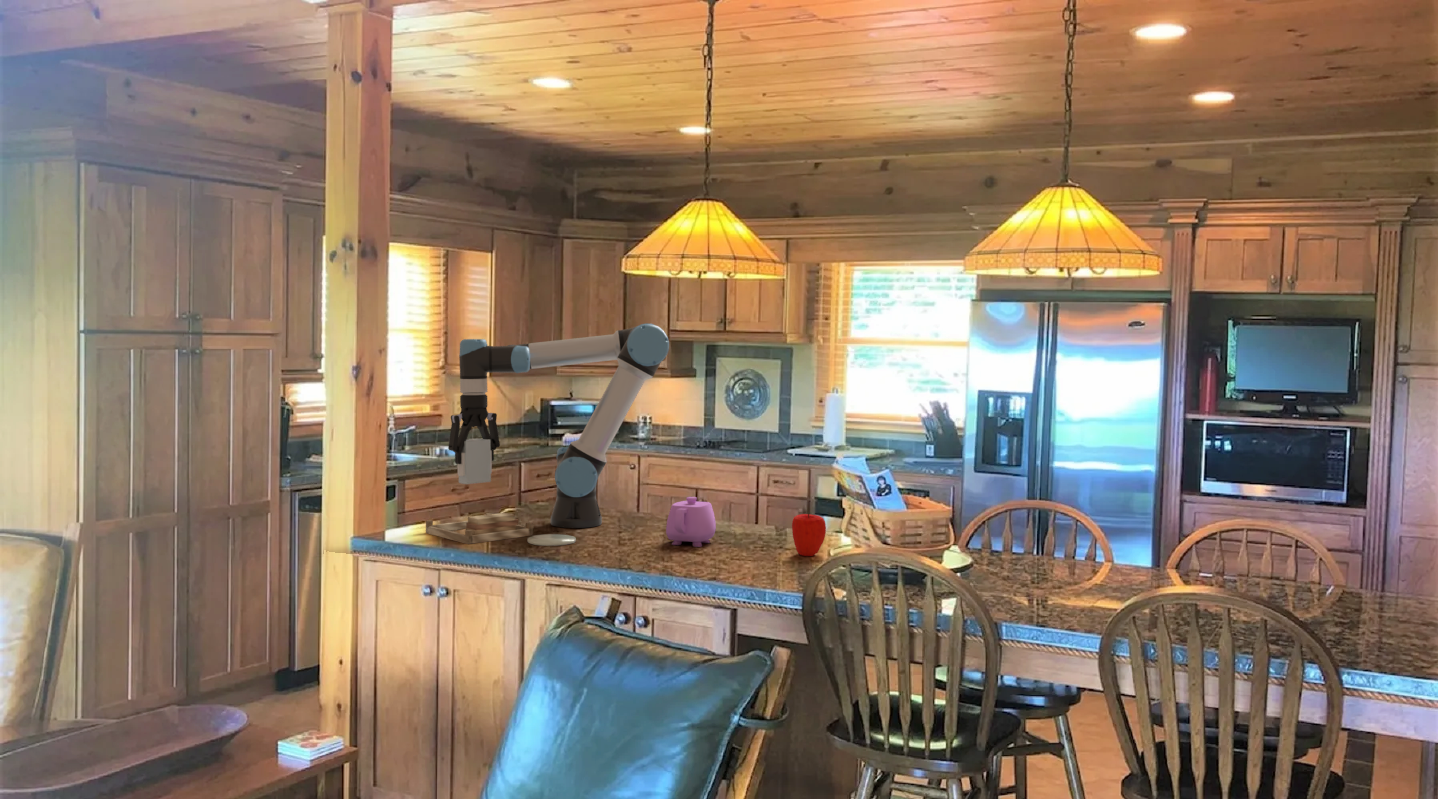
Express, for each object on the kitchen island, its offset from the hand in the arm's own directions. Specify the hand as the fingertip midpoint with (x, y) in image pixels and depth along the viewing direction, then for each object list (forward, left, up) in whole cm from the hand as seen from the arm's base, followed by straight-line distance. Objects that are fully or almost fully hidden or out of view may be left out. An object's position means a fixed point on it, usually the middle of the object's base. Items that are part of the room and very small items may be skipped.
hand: (474, 474), depth 325 cm
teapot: (-37, +51, -17) cm, 65 cm away
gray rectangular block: (0, 0, -2) cm, 2 cm away
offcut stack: (0, +9, -17) cm, 19 cm away
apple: (-49, +83, -17) cm, 98 cm away
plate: (-9, +25, -17) cm, 31 cm away
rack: (0, +3, -17) cm, 17 cm away
